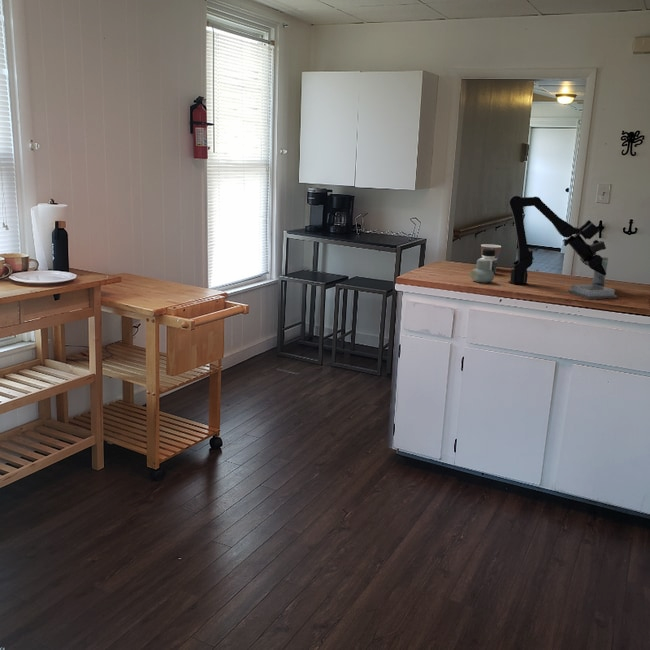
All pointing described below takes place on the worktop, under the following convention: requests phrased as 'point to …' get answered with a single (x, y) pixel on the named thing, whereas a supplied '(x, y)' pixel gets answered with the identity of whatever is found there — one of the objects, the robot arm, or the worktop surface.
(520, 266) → the robot arm
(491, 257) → the medicine bottle
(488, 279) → the air freshener
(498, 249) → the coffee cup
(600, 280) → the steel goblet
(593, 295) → the metal stand
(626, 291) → the worktop surface
